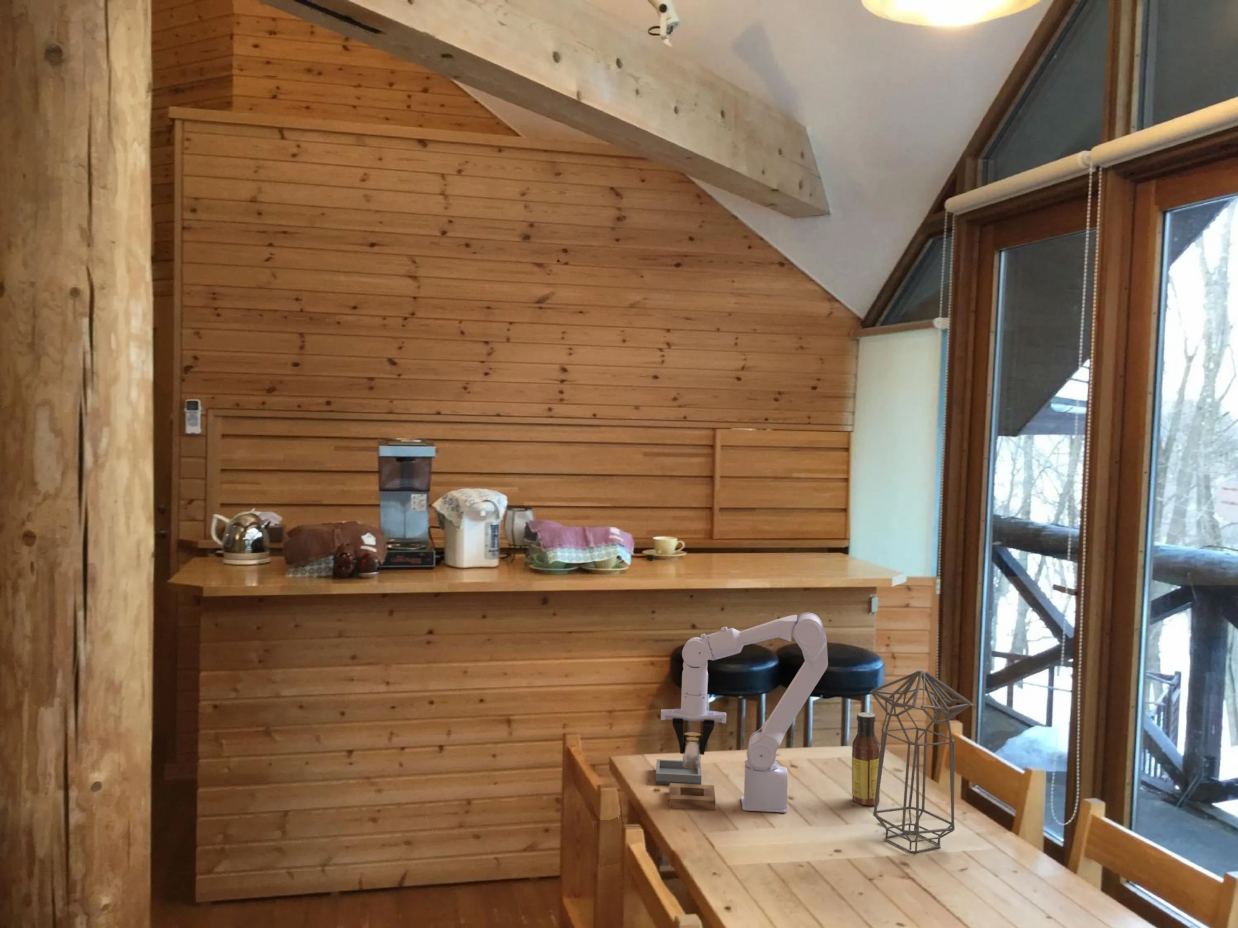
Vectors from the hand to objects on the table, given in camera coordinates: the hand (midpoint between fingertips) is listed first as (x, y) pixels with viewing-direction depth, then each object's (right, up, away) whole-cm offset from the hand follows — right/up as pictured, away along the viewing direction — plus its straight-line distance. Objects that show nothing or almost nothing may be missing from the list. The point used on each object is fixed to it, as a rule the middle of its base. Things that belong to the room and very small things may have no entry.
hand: (692, 752), depth 226 cm
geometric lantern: (+44, -13, -20) cm, 50 cm away
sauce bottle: (+39, -12, +2) cm, 41 cm away
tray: (-2, -10, +15) cm, 18 cm away
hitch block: (0, -10, -1) cm, 10 cm away
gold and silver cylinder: (0, -3, 0) cm, 3 cm away
